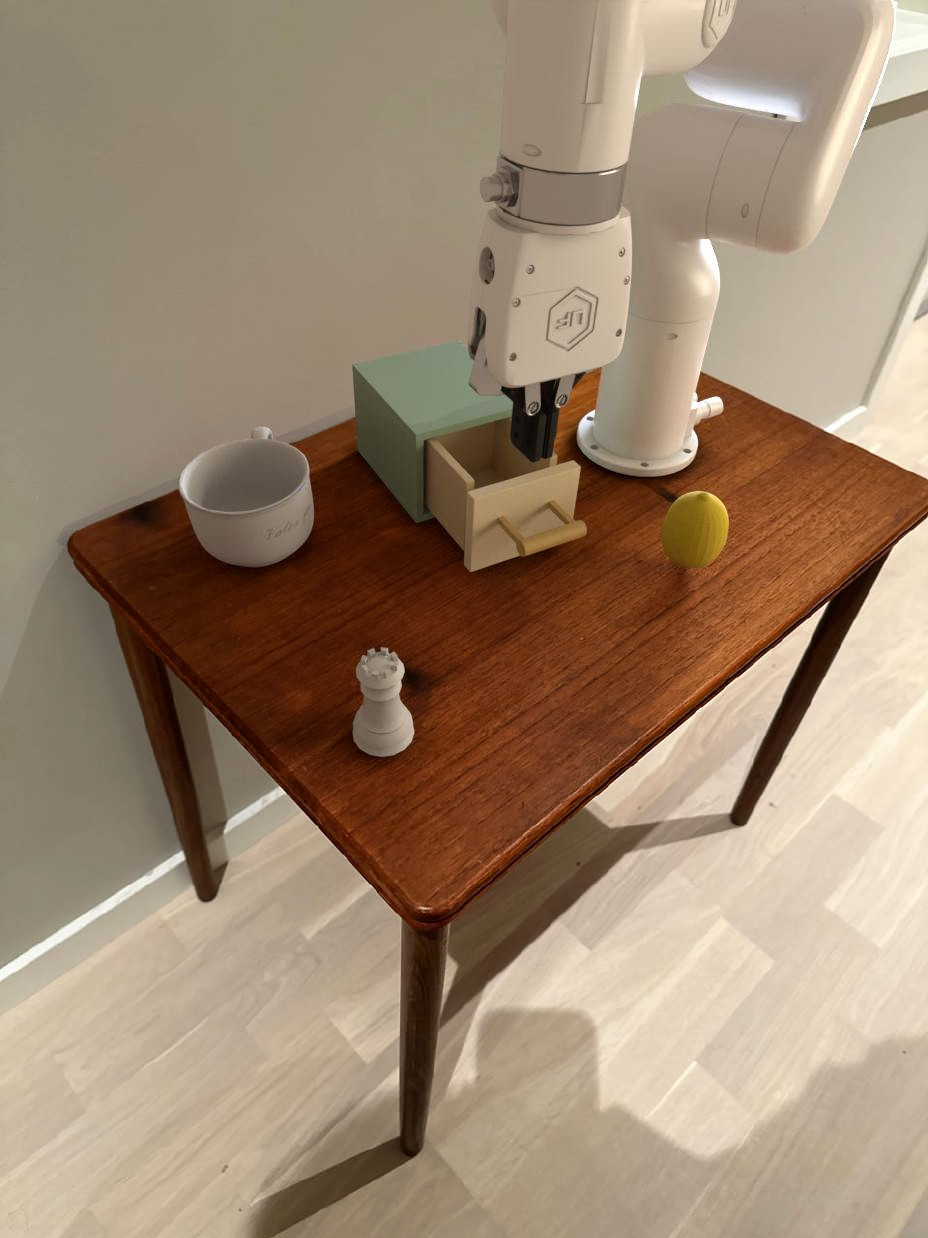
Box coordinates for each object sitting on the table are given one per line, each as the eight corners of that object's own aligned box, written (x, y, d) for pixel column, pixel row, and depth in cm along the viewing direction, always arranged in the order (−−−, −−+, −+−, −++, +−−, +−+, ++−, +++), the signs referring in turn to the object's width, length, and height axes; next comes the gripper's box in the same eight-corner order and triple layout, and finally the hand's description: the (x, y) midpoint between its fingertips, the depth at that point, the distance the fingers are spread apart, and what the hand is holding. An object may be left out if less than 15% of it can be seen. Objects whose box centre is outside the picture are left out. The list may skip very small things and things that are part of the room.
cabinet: (522, 490, 85) (530, 404, 78) (416, 523, 81) (415, 434, 74) (456, 423, 93) (458, 339, 87) (357, 450, 89) (351, 364, 82)
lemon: (642, 554, 79) (658, 482, 73) (693, 540, 80) (713, 468, 75) (675, 593, 75) (696, 519, 69) (728, 577, 77) (752, 504, 71)
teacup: (293, 594, 73) (283, 518, 68) (173, 573, 75) (153, 498, 69) (342, 498, 83) (337, 425, 78) (235, 482, 85) (222, 409, 79)
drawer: (600, 569, 76) (614, 496, 70) (497, 606, 72) (503, 532, 66) (500, 467, 86) (505, 397, 81) (406, 495, 82) (405, 423, 77)
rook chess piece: (370, 704, 65) (365, 629, 59) (424, 723, 64) (424, 648, 58) (341, 748, 62) (333, 673, 56) (398, 769, 61) (395, 694, 55)
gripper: (482, 226, 47) (467, 504, 59) (697, 191, 52) (642, 452, 65) (419, 183, 51) (418, 449, 64) (623, 155, 57) (585, 405, 69)
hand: (531, 450), depth 64 cm, fingers closed
